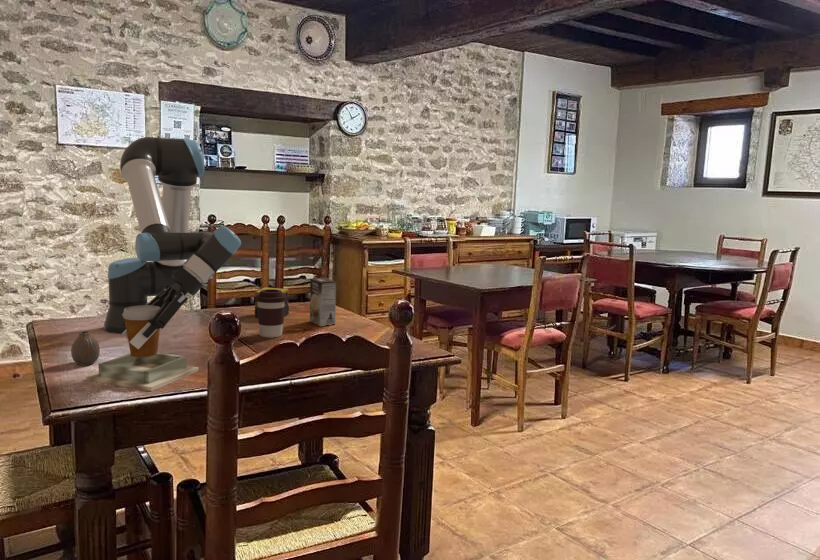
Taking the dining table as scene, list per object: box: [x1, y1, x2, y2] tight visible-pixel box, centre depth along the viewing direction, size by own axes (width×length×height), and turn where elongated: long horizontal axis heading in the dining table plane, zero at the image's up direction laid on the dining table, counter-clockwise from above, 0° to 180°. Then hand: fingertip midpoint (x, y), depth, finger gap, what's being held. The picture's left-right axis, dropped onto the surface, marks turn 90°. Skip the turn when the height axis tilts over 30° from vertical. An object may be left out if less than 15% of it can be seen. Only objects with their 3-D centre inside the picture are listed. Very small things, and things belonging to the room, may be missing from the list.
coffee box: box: [309, 277, 337, 327], centre depth 229 cm, size 9×6×16 cm
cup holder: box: [85, 351, 200, 392], centre depth 164 cm, size 20×18×4 cm
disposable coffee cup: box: [122, 305, 161, 357], centre depth 162 cm, size 10×10×12 cm
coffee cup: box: [254, 289, 286, 339], centre depth 209 cm, size 10×10×15 cm
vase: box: [70, 330, 101, 366], centre depth 172 cm, size 7×7×9 cm
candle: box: [254, 287, 290, 319], centre depth 238 cm, size 10×10×10 cm
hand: (129, 341), depth 161 cm, fingers closed on disposable coffee cup, 9 cm apart
